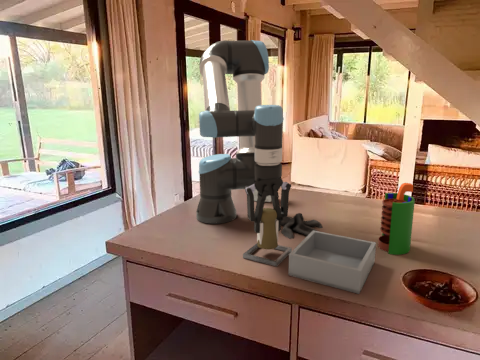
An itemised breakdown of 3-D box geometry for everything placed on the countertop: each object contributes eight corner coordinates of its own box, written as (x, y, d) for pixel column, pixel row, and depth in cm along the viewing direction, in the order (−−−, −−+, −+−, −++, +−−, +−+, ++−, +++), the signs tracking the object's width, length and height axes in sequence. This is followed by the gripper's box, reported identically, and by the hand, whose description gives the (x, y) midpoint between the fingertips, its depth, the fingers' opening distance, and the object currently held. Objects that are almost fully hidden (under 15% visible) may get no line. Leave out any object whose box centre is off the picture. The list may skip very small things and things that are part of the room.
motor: (371, 240, 115) (377, 179, 110) (399, 239, 115) (405, 178, 110) (387, 255, 105) (393, 188, 100) (416, 253, 106) (424, 187, 100)
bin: (288, 275, 95) (289, 254, 93) (312, 248, 110) (312, 230, 108) (359, 294, 86) (360, 271, 84) (374, 262, 101) (376, 242, 99)
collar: (243, 257, 105) (242, 254, 104) (260, 244, 113) (260, 240, 113) (276, 266, 99) (276, 262, 99) (291, 251, 108) (291, 247, 108)
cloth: (272, 217, 137) (272, 202, 135) (323, 220, 133) (323, 204, 132) (264, 242, 116) (265, 224, 114) (324, 246, 112) (325, 228, 111)
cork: (271, 238, 110) (271, 204, 107) (281, 246, 105) (282, 210, 102) (253, 242, 107) (253, 207, 104) (263, 251, 102) (263, 214, 99)
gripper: (243, 168, 93) (244, 251, 100) (302, 162, 99) (300, 241, 105) (234, 162, 100) (235, 240, 106) (290, 157, 106) (288, 232, 112)
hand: (267, 241), depth 106 cm, fingers closed on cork, 4 cm apart
